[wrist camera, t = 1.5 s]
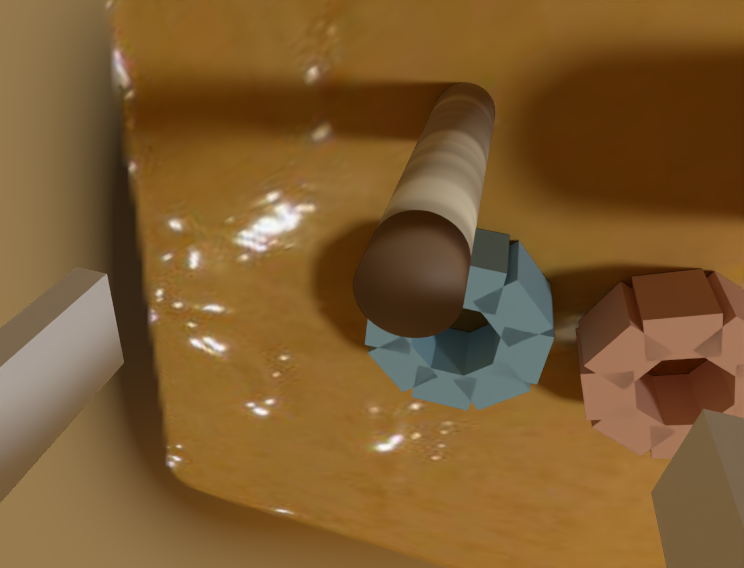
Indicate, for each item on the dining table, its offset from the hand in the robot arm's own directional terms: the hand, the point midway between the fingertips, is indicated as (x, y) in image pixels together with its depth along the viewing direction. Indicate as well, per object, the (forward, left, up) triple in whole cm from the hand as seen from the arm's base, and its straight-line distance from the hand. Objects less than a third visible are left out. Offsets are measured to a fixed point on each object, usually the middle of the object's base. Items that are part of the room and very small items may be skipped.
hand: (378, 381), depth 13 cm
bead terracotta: (+11, +14, -19) cm, 26 cm away
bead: (+11, +2, -19) cm, 22 cm away
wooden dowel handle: (0, 0, -19) cm, 19 cm away
